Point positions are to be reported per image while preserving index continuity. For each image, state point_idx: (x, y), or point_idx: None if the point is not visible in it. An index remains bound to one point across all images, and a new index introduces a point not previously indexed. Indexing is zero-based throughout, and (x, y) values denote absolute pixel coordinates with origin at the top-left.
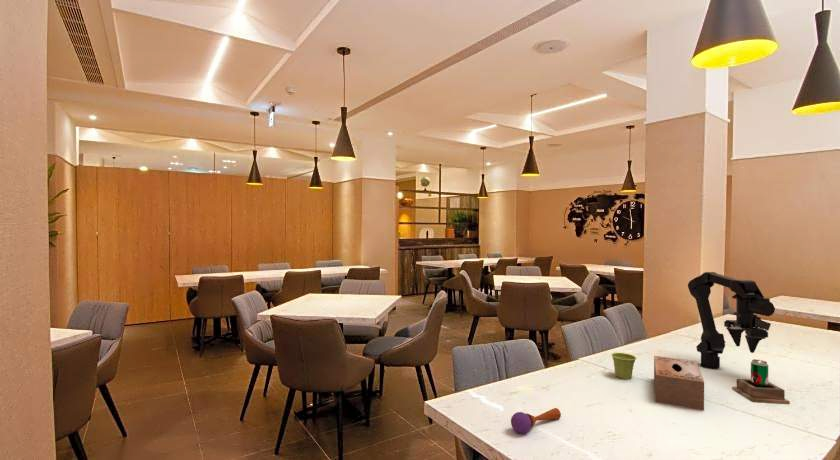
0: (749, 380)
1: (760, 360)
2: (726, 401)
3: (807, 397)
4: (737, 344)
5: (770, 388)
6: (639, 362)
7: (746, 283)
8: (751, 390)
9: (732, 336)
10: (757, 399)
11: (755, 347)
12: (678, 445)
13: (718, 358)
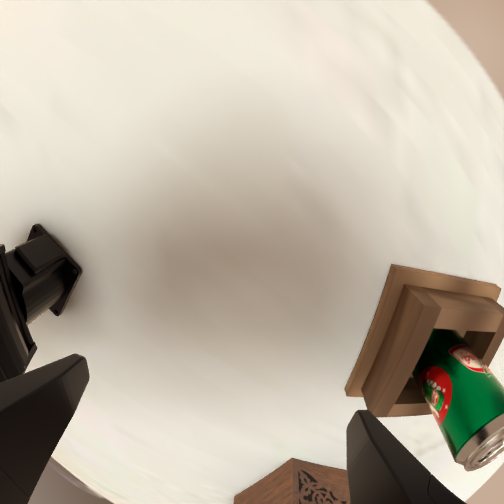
0: (404, 383)
1: (494, 442)
2: (414, 440)
3: (465, 135)
4: (79, 387)
5: (486, 357)
6: (90, 449)
7: None
8: None
9: (40, 472)
10: None
11: (406, 459)
12: (461, 499)
13: (36, 272)
